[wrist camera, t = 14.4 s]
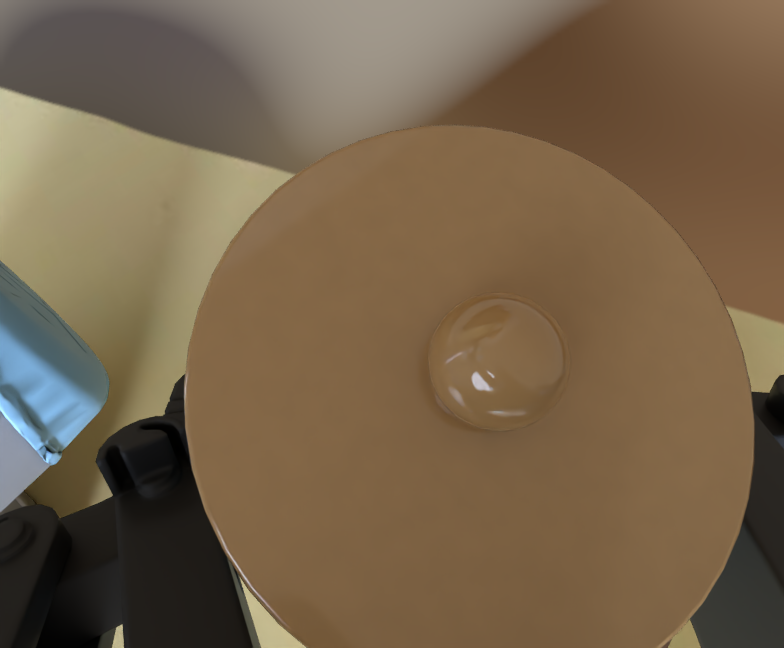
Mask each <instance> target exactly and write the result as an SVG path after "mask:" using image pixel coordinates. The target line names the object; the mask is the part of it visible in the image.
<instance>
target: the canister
mask: <svg viewBox="0 0 784 648" xmlns="http://www.w3.org/2000/svg"><path fill="white" fill-rule="evenodd" d="M184 411H185V431H186V438H187V444H188V450H189V456H190V462H191V468H192V472H193V475H194V479H195V482H196V485H197V488H198V492H199V495H200V498H201V501H202V505H203V508H204V511H205V513H206V515H207V518H208V520H209V522H210V524H211V526H212V528H213V530H214V532H215V535H216V537H217V539H218V541H219V543H220V545H221V547H222V549H223V552H224V553H225V555H226V556H227V558H228V559H229V561H230V562H231V564H232V565H233V567H234V569H235V570H236V572H237V573H238V575H239V576H240V578H241V579H242V581H243V582H244V584H245V585H246V587H247V588H248V590H249V591H250V592H251V593H252V594H253V596H254V597H255V598H256V599H257V600H258V601H259V602H260V603H261V605H262V606H263V607H264V608H265V609H266V610H267V611H268V613H269V614H270V615H271V616H272V617H273V618H274V619H275V620H276V622H277V623H278V624H279V625H280V626H281V627H283V628H284V629H285V630H286V631H287V632H288V633H290V634H291V635H292V636H293V637H294V638H296V639H297V640H298V641H299V642H300V643H302V644H303V645H304V646H305V647H306V648H661V647H663V646H664V645H665V644H666V643H667V642H668V641H669V640H670V639H672V638H673V637H674V636H675V635H676V634H677V633H678V632H679V631H680V630H681V629H682V627H683V626H684V625H685V624H686V623H687V622H688V620H689V619H690V618H691V617H692V616H693V614H694V613H695V612H696V611H697V610H698V608H699V607H700V606H701V605H702V604H703V602H704V601H705V599H706V598H707V596H708V594H709V593H710V591H711V589H712V588H713V586H714V584H715V583H716V581H717V579H718V578H719V576H720V575H721V573H722V571H723V570H724V568H725V565H726V563H727V561H728V558H729V556H730V554H731V551H732V549H733V547H734V544H735V542H736V540H737V537H738V535H739V532H740V529H741V525H742V521H743V518H744V514H745V510H746V507H747V503H748V500H749V495H750V488H751V481H752V473H753V466H754V452H755V420H754V411H753V401H752V392H751V385H750V381H749V376H748V372H747V368H746V363H745V359H744V355H743V351H742V348H741V345H740V342H739V339H738V336H737V334H736V331H735V328H734V325H733V322H732V319H731V317H730V315H729V313H728V311H727V309H726V307H725V305H724V303H723V301H722V298H721V297H720V294H719V292H718V290H717V288H716V286H715V285H714V283H713V281H712V280H711V278H710V276H709V275H708V273H707V272H706V270H705V268H704V267H703V265H702V264H701V262H700V260H699V259H698V257H697V256H696V255H695V254H694V252H693V251H692V250H691V248H690V247H689V246H688V245H687V243H686V242H685V241H684V239H683V238H682V237H681V235H680V234H679V233H678V232H677V231H676V229H674V227H673V226H672V225H671V224H670V223H669V222H668V221H667V220H666V219H665V218H664V217H663V216H662V215H661V214H660V213H659V212H658V211H657V210H656V209H655V208H654V207H653V206H652V205H651V204H650V203H648V202H647V201H646V200H645V199H644V198H643V197H641V196H640V195H639V194H638V193H637V192H635V191H634V190H633V189H632V188H631V187H630V186H628V185H627V184H625V183H624V182H622V181H621V180H619V179H618V178H616V177H615V176H613V175H612V174H611V173H609V172H607V171H606V170H605V169H603V168H601V167H600V166H598V165H596V164H594V163H592V162H590V161H588V160H587V159H585V158H583V157H581V156H579V155H577V154H576V153H573V152H571V151H568V150H566V149H563V148H561V147H559V146H556V145H554V144H551V143H549V142H547V141H544V140H540V139H536V138H533V137H530V136H526V135H523V134H520V133H516V132H511V131H505V130H500V129H494V128H489V127H480V126H464V125H438V126H420V127H414V128H408V129H403V130H396V131H390V132H387V133H384V134H380V135H377V136H374V137H370V138H366V139H363V140H360V141H358V142H355V143H353V144H350V145H348V146H346V147H343V148H341V149H339V150H337V151H334V152H332V153H330V154H328V155H326V156H325V157H323V158H321V159H320V160H318V161H316V162H315V163H313V164H311V165H309V166H308V167H306V168H304V169H303V170H301V171H300V172H299V173H297V174H296V175H295V176H293V177H292V178H291V179H290V180H288V181H287V182H286V183H284V184H283V185H282V186H280V187H279V188H278V189H277V190H275V191H274V192H273V193H272V194H271V195H270V196H269V197H268V198H267V199H266V200H265V201H264V202H263V203H262V204H261V205H260V206H259V207H258V208H257V209H256V210H255V211H254V213H253V214H252V215H251V216H250V217H249V219H248V220H247V221H246V222H245V224H244V225H243V226H242V228H241V229H240V230H239V232H238V233H237V234H236V236H235V237H234V238H233V239H232V241H231V242H230V244H229V246H228V247H227V249H226V251H225V253H224V254H223V256H222V258H221V260H220V261H219V263H218V265H217V267H216V268H215V270H214V272H213V274H212V276H211V278H210V281H209V283H208V286H207V288H206V291H205V293H204V296H203V298H202V301H201V303H200V306H199V308H198V311H197V315H196V319H195V323H194V327H193V331H192V335H191V339H190V343H189V347H188V355H187V364H186V373H185V381H184Z"/></svg>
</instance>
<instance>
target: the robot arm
mask: <svg viewBox="0 0 784 648" xmlns="http://www.w3.org/2000/svg"><path fill="white" fill-rule="evenodd" d="M184 381H185V374H184V375H183V376H182V377H181V378H180V379H179V380H178V381H177V382H176V383H175V386H174V388H173V391H172V394H171V396H170V402H168V404H167V407H166V410H165V414H164V415H163V416H155V417H150V418H146V419H142V420H139V421H136V422H134V423H132V424H130V425H128V426H125V427H123V428H122V429H120V430H119V431H118V432H116V433H115V434H113V435H112V436H111V437H109V438H108V439H107V441H106V442H105V443H104V444H103V445H102V447H101V448H100V449H99V451H98V454H97V458H96V461H95V462H96V463H97V465H98V467H99V469H100V471H101V473H102V475H103V477H104V479H105V481H106V482H107V484H108V486H109V488H110V490H111V492H112V494H113V496H112V497H110V498H108V499H106V500H104V501H102V502H100V503H98V504H95V505H93V506H90V507H88V508H85V509H83V510H80V511H78V512H75V513H73V514H70V515H68V516H66V517H63V518H61V519H60V518H59V517H58V515H57V514H56V512H55V511H54V509H53V508H51V507H47V506H44V505H36V504H35V502H34V501H33V500H32V499H31V498H30V497H29V496H28V495H27V494H26V493H25V492H24V490H25V489H26V488H27V487H28V486H29V485H30V484H31V483H32V482H33V481H35V480H36V479H37V478H38V477H39V476H40V475H41V474H42V473H43V472H44V471H45V470H46V469H47V468H48V467H49V466H51V465H53V464H54V465H55V464H56V463H57V462H58V461H59V459H61V457H62V451H63V450H64V449H65V448H66V446H67V445H68V444H69V443H70V442H71V441H72V440H73V439H74V438H75V437H76V436H77V435H78V434H79V433H80V432H81V431H82V430H83V429H84V427H85V426H86V425H87V424H88V423H89V422H90V421H91V420H92V419H93V418H94V417H95V416H96V415H97V414H98V413H99V412H100V411H101V409H102V408H103V406H104V404H105V402H106V400H107V398H108V392H109V378H108V374H107V372H106V370H105V368H104V366H103V364H102V363H101V362H100V360H99V359H98V357H97V356H96V355H95V354H94V352H93V351H92V350H91V349H90V348H89V346H88V345H87V344H86V343H85V342H84V341H83V340H82V339H81V338H80V337H79V335H78V334H77V333H76V332H75V331H74V330H73V329H72V328H71V327H70V326H69V325H68V324H67V323H66V322H65V321H64V320H63V319H62V318H61V317H60V316H59V315H58V314H57V313H56V312H55V311H54V310H53V309H52V308H51V307H50V306H49V305H48V304H47V303H46V302H45V301H44V300H43V299H41V298H40V297H39V296H38V295H37V294H36V293H35V292H34V291H33V290H32V289H31V288H30V287H29V286H28V285H27V284H25V283H24V282H23V281H22V280H21V279H20V278H19V277H18V276H17V275H16V274H15V273H13V272H12V271H11V270H10V269H9V268H8V267H7V266H6V265H5V264H4V263H2V262H1V261H0V648H112V644H113V640H114V635H115V630H116V627H117V626H119V625H121V624H123V637H124V648H261V646H260V643H259V640H258V636H257V633H256V630H255V627H254V623H253V620H252V617H251V613H250V610H249V607H248V604H247V600H246V597H245V594H244V591H243V587H242V584H241V581H240V578H239V575H238V573H237V572H236V570H235V569H234V567H233V565H232V564H231V562H230V561H229V559H228V558H227V556H226V555H225V553H224V552H223V549H222V547H221V545H220V543H219V541H218V539H217V537H216V535H215V532H214V530H213V528H212V526H211V524H210V522H209V520H208V518H207V515H206V513H205V511H204V508H203V505H202V501H201V498H200V495H199V492H198V488H197V485H196V482H195V479H194V475H193V472H192V468H191V462H190V456H189V450H188V444H187V438H186V431H185V411H184ZM752 401H753V411H754V420H755V452H754V466H753V473H752V481H751V488H750V495H749V500H748V503H747V507H746V510H745V514H744V518H743V521H742V525H741V529H740V532H739V535H738V537H737V540H736V542H735V544H734V547H733V549H732V551H731V554H730V556H729V558H728V561H727V563H726V565H725V568H724V570H723V571H722V573H721V575H720V576H719V578H718V579H717V581H716V583H715V584H714V586H713V588H712V589H711V591H710V593H709V594H708V596H707V598H706V599H705V601H704V602H703V604H702V605H701V606H700V607H699V608H698V610H697V611H696V612H695V613H694V614H693V616H692V617H691V618H690V620H691V623H692V625H693V628H694V630H695V633H696V636H697V638H698V641H699V643H700V646H701V648H784V375H780V376H779V377H778V378H777V379H776V381H775V383H774V385H773V387H772V389H771V391H770V393H762V392H752Z"/></svg>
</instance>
